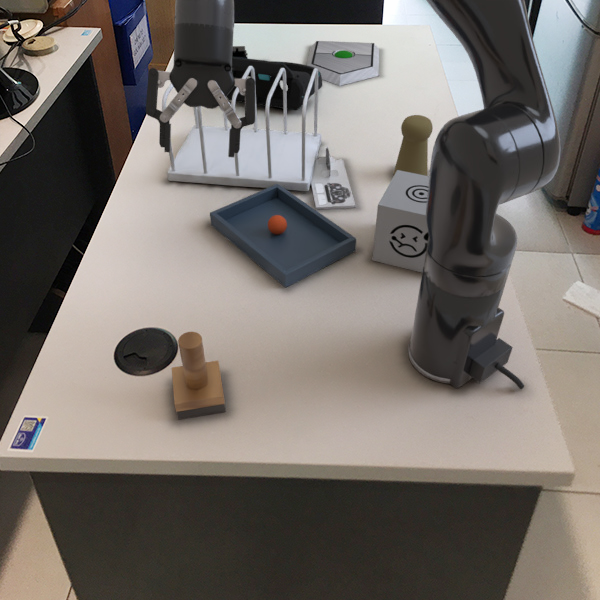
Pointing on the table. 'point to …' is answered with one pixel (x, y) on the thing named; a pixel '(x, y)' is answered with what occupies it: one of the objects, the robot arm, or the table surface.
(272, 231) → the crumb ball
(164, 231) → the table surface
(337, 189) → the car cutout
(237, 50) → the black block
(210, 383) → the wooden stamp
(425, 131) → the olive game pawn
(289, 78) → the virtual reality headset
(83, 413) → the table surface
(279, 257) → the tray
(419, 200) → the icon cube
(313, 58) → the security device
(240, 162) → the file sorter
